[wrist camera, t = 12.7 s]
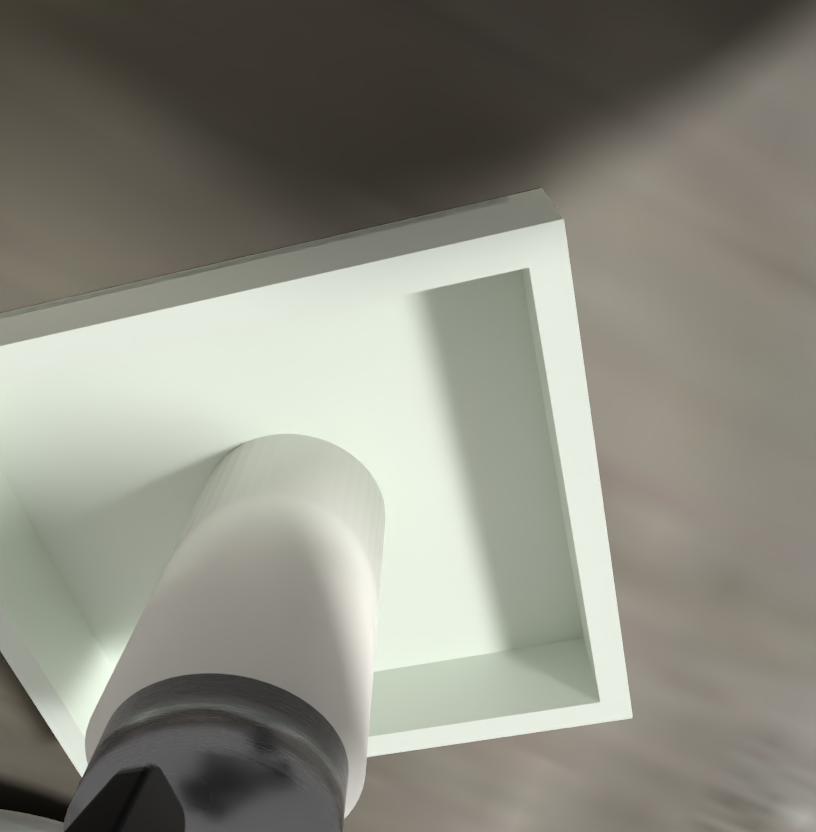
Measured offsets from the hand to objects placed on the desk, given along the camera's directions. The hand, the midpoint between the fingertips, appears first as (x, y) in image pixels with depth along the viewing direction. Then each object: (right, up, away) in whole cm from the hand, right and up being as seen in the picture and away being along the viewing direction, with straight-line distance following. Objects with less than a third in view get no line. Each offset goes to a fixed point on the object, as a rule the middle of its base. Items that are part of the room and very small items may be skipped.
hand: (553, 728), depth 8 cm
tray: (-5, +1, +13) cm, 14 cm away
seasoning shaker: (-5, +1, +13) cm, 13 cm away
